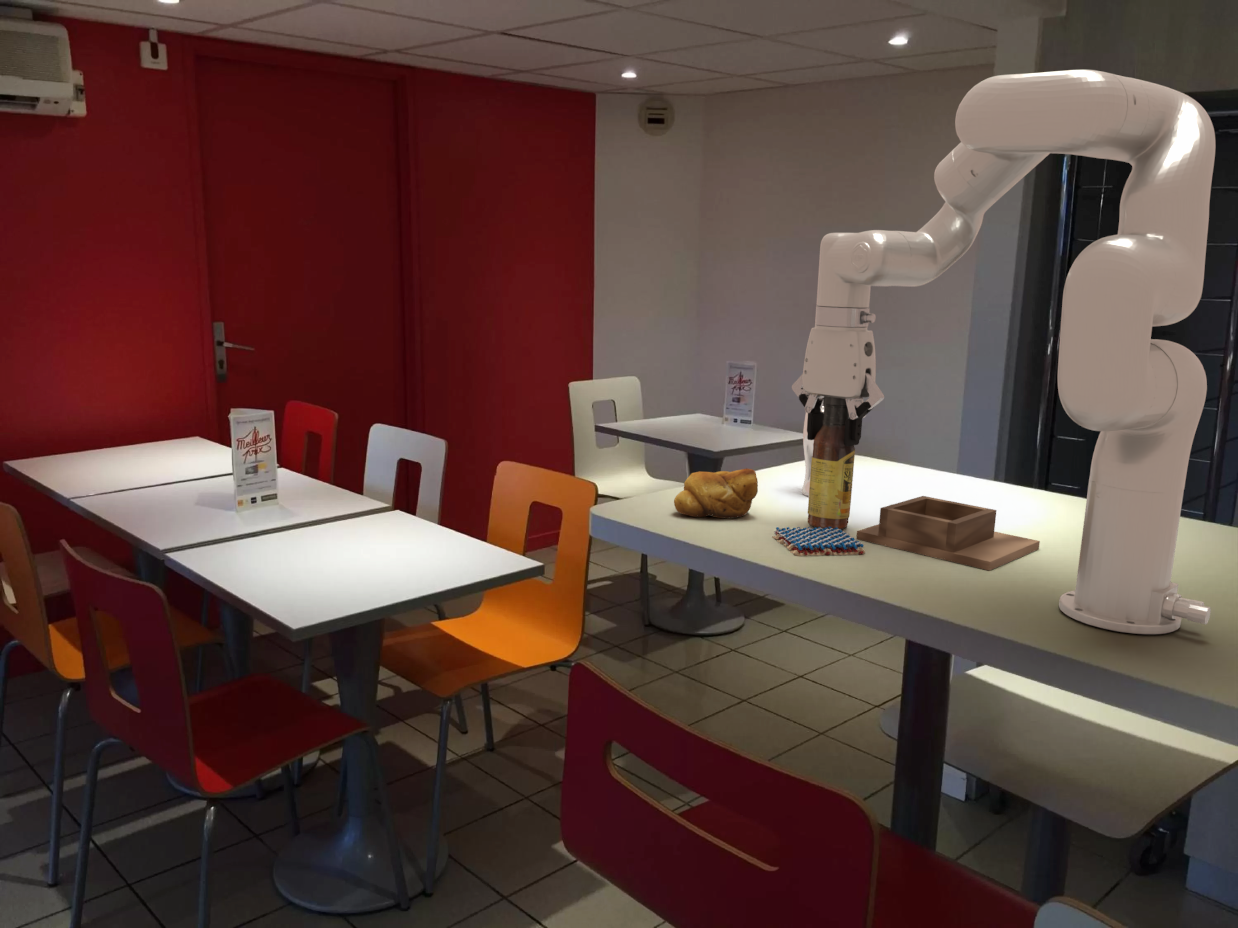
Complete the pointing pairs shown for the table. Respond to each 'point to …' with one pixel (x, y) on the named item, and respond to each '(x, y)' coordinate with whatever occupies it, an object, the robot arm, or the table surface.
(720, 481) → the bread roll
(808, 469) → the beer glass
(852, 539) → the woven mat
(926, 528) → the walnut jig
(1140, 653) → the table surface
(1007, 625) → the table surface
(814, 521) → the sauce bottle
